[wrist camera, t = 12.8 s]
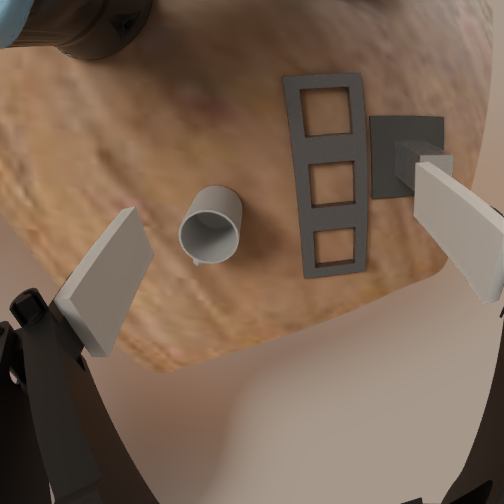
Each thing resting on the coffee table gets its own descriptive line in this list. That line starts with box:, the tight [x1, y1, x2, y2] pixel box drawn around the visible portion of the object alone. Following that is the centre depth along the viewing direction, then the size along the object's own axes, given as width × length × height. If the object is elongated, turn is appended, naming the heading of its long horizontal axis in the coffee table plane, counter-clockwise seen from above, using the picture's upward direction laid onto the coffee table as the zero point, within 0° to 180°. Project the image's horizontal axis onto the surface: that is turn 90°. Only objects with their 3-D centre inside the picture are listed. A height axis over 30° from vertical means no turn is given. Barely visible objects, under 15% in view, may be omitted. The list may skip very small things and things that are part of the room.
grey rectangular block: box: [394, 140, 454, 192], centre depth 35 cm, size 5×5×8 cm
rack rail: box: [282, 73, 368, 279], centre depth 41 cm, size 30×10×1 cm, turn 9°
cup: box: [179, 185, 242, 266], centre depth 41 cm, size 7×10×9 cm
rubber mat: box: [369, 116, 444, 199], centre depth 39 cm, size 12×12×1 cm
